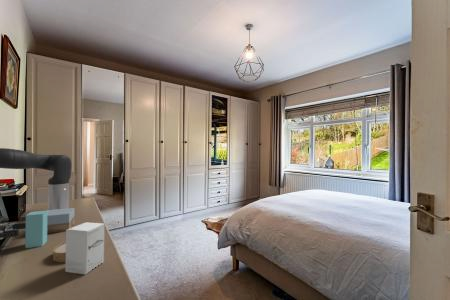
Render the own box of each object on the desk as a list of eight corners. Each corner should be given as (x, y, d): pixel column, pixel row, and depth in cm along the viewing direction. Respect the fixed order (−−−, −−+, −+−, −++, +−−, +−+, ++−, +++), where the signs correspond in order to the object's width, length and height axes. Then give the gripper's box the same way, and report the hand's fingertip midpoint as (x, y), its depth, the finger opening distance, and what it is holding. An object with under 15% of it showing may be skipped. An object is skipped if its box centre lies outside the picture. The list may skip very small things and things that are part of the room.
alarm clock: (50, 245, 76) (99, 228, 86) (53, 258, 77) (101, 240, 86) (51, 257, 68) (105, 237, 77) (55, 272, 68) (108, 250, 78)
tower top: (46, 218, 103) (46, 210, 103) (74, 216, 108) (74, 207, 108) (37, 226, 93) (38, 216, 93) (69, 222, 98) (69, 213, 98)
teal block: (31, 243, 85) (31, 211, 85) (47, 240, 87) (47, 210, 87) (25, 248, 80) (25, 215, 80) (42, 246, 82) (42, 213, 82)
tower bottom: (47, 226, 104) (47, 218, 104) (75, 223, 108) (75, 215, 108) (38, 234, 94) (38, 225, 94) (69, 231, 98) (69, 222, 98)
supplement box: (85, 275, 63) (86, 231, 63) (64, 272, 65) (64, 229, 65) (104, 262, 70) (105, 223, 70) (85, 260, 72) (85, 221, 72)
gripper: (-53, 231, 69) (14, 224, 75) (-24, 218, 82) (31, 213, 88) (-53, 255, 69) (14, 246, 75) (-24, 238, 82) (31, 232, 88)
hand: (23, 228), depth 82 cm, fingers open, 8 cm apart
